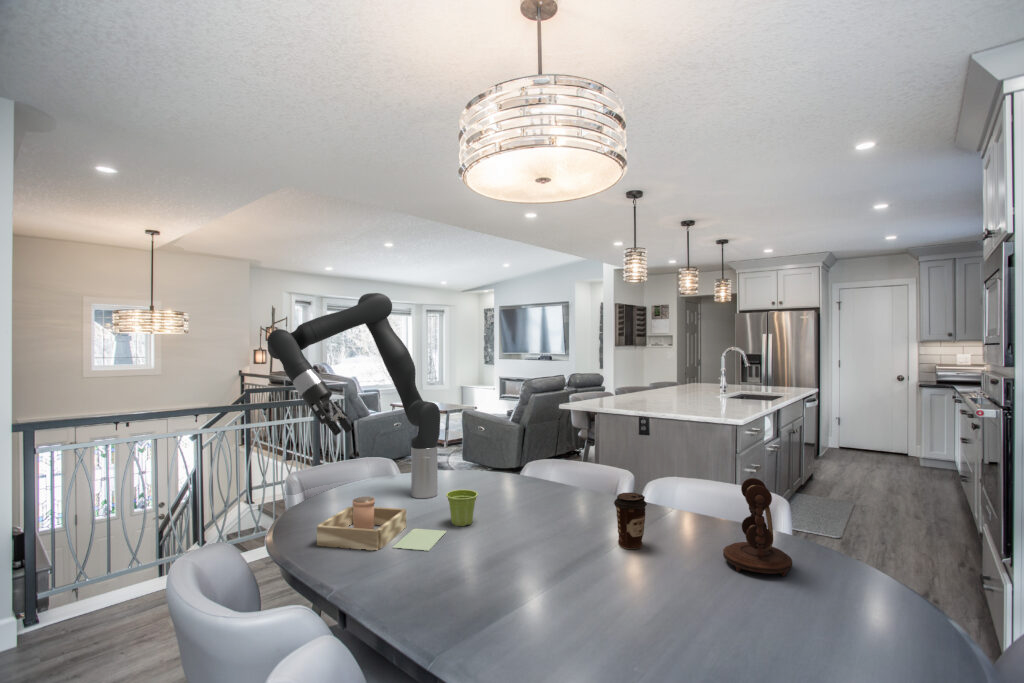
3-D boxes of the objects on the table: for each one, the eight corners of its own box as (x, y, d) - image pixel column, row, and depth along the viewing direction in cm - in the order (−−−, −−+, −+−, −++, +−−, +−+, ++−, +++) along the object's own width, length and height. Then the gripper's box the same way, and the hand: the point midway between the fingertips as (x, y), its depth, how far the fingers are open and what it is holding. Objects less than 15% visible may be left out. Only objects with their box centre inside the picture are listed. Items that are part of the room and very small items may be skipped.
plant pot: (480, 518, 156) (480, 489, 156) (475, 529, 147) (474, 498, 147) (450, 517, 157) (450, 489, 157) (443, 528, 147) (443, 498, 148)
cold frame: (350, 522, 153) (350, 505, 153) (408, 526, 149) (407, 509, 149) (314, 545, 135) (314, 526, 135) (378, 550, 131) (378, 531, 131)
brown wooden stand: (799, 583, 111) (798, 492, 112) (727, 575, 116) (725, 487, 116) (784, 557, 126) (783, 476, 126) (720, 550, 130) (719, 472, 130)
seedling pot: (359, 531, 146) (359, 495, 146) (378, 532, 144) (378, 497, 144) (348, 538, 140) (348, 502, 140) (368, 540, 138) (368, 503, 139)
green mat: (413, 529, 146) (413, 528, 146) (446, 531, 144) (446, 530, 144) (392, 548, 133) (392, 547, 133) (428, 551, 131) (428, 550, 131)
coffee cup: (654, 545, 134) (653, 495, 134) (638, 554, 128) (637, 502, 128) (624, 536, 140) (624, 489, 140) (608, 545, 134) (607, 496, 134)
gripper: (311, 380, 142) (345, 426, 140) (332, 380, 156) (363, 422, 155) (290, 396, 142) (323, 443, 140) (313, 395, 156) (343, 438, 154)
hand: (344, 432), depth 147 cm, fingers open, 8 cm apart
